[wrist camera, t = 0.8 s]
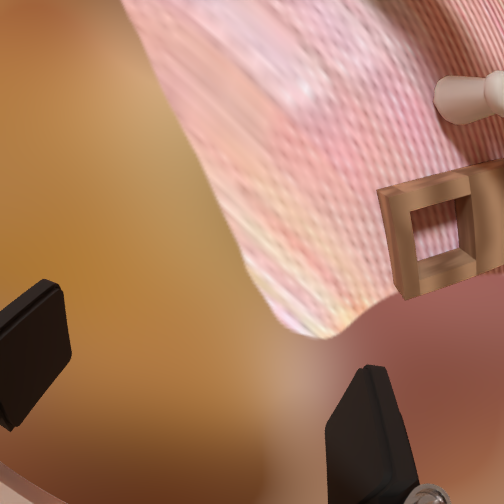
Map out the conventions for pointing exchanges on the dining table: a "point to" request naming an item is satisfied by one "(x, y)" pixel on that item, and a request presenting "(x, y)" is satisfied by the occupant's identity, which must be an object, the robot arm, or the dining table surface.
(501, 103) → the salt shaker
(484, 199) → the caddy
